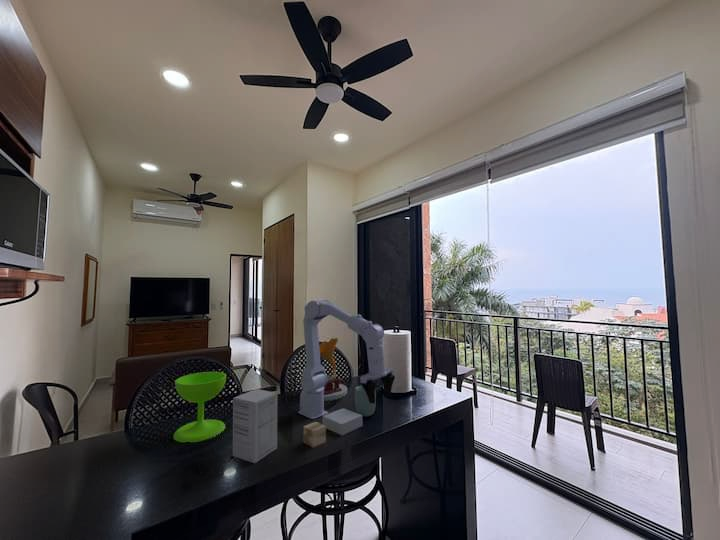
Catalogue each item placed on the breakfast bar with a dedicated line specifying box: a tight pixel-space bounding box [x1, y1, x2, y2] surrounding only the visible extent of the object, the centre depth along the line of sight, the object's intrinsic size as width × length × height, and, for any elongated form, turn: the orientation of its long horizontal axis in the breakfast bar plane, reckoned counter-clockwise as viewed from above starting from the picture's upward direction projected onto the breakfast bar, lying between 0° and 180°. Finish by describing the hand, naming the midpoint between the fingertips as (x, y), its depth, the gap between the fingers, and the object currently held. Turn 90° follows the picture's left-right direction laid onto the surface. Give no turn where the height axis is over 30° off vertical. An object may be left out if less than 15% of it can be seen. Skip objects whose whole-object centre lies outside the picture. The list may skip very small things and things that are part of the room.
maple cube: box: [302, 421, 327, 448], centre depth 100 cm, size 5×5×5 cm
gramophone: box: [319, 337, 348, 402], centre depth 148 cm, size 20×20×25 cm
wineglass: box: [172, 371, 227, 443], centre depth 108 cm, size 16×16×18 cm
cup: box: [354, 385, 377, 418], centre depth 121 cm, size 8×8×10 cm
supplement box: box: [232, 388, 278, 464], centre depth 94 cm, size 10×9×17 cm
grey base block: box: [322, 407, 363, 436], centre depth 111 cm, size 10×10×4 cm
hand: (380, 399), depth 108 cm, fingers open, 7 cm apart
